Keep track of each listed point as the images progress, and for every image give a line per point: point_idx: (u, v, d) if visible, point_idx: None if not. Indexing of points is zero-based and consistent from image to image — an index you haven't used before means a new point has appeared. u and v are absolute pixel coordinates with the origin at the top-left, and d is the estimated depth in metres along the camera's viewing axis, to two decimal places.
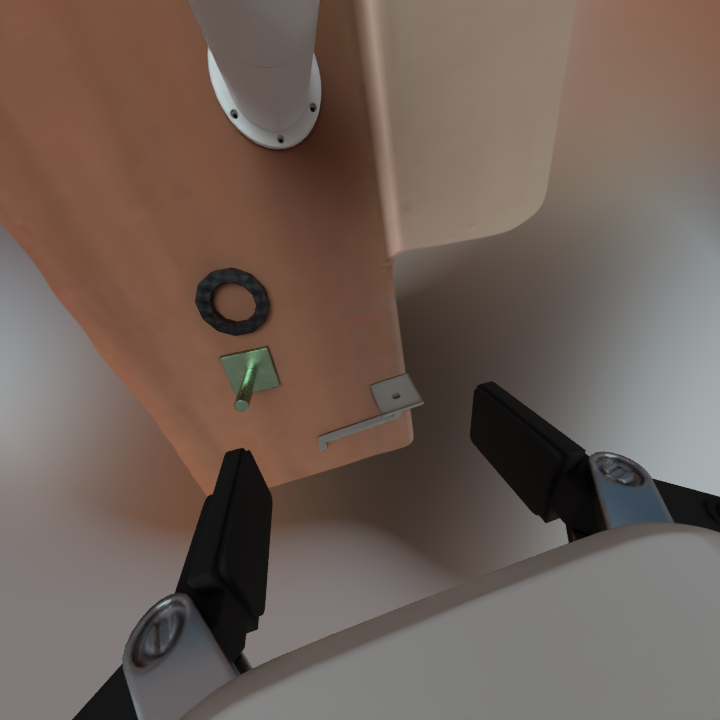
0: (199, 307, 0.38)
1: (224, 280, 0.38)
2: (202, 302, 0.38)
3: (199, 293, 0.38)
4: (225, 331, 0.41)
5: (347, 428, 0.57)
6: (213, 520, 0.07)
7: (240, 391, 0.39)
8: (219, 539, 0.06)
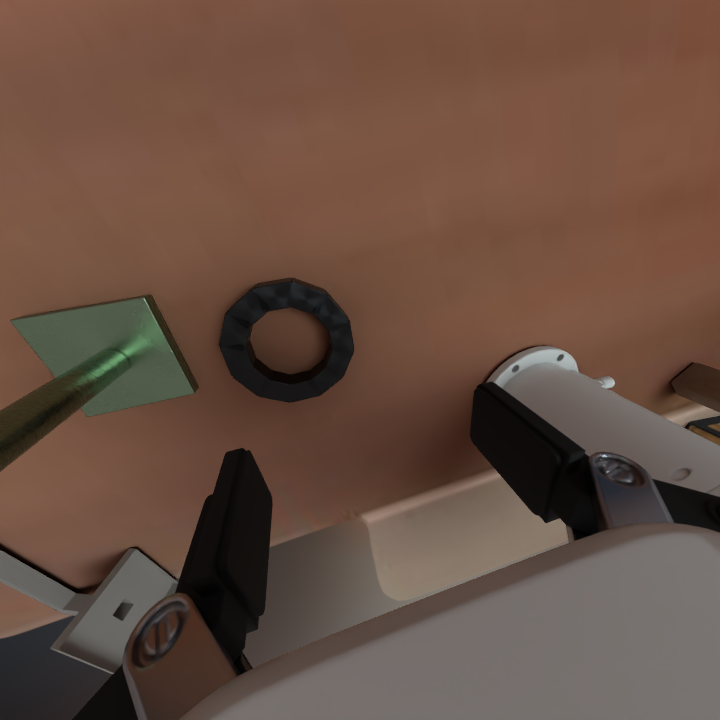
0: (279, 287, 0.18)
1: (335, 339, 0.21)
2: (292, 295, 0.19)
3: (310, 293, 0.19)
4: (227, 327, 0.19)
5: None
6: (213, 520, 0.07)
7: (33, 420, 0.12)
8: (219, 539, 0.06)
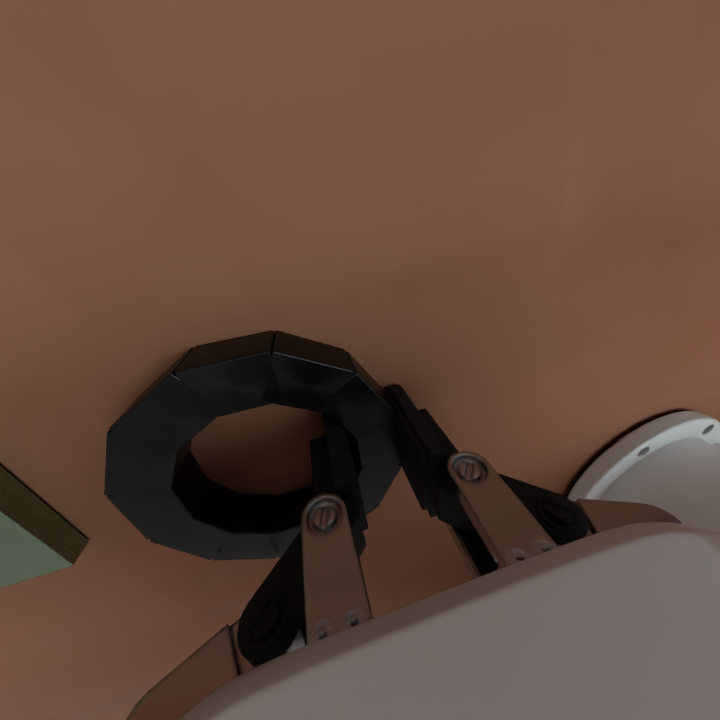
0: (242, 365, 0.07)
1: (367, 452, 0.10)
2: (274, 380, 0.08)
3: (316, 373, 0.08)
4: (117, 460, 0.08)
5: None
6: (334, 447, 0.08)
7: None
8: (346, 459, 0.08)
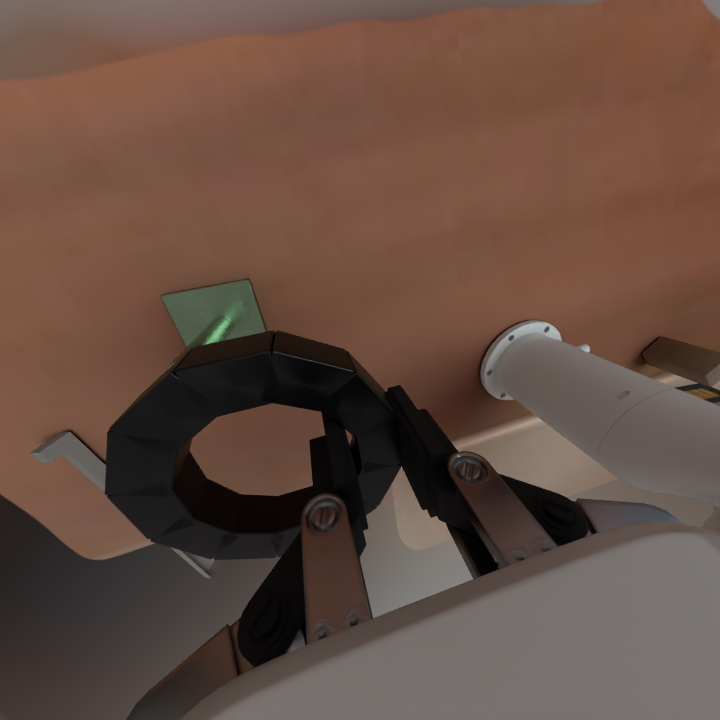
0: (242, 365, 0.07)
1: (368, 452, 0.10)
2: (274, 380, 0.08)
3: (316, 373, 0.08)
4: (117, 459, 0.08)
5: None
6: (334, 447, 0.08)
7: None
8: (345, 459, 0.08)
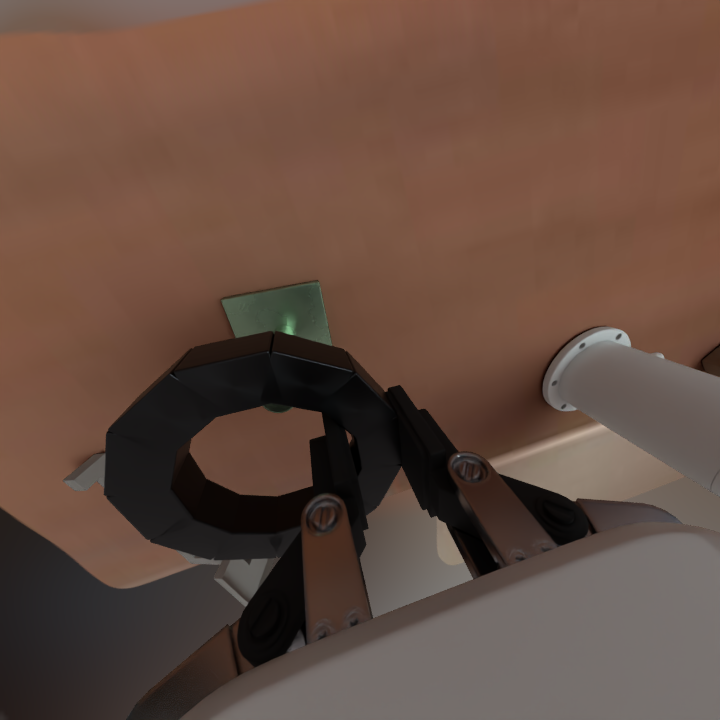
0: (241, 365, 0.07)
1: (367, 452, 0.10)
2: (273, 380, 0.08)
3: (315, 373, 0.08)
4: (116, 460, 0.08)
5: None
6: (334, 447, 0.08)
7: None
8: (346, 459, 0.08)
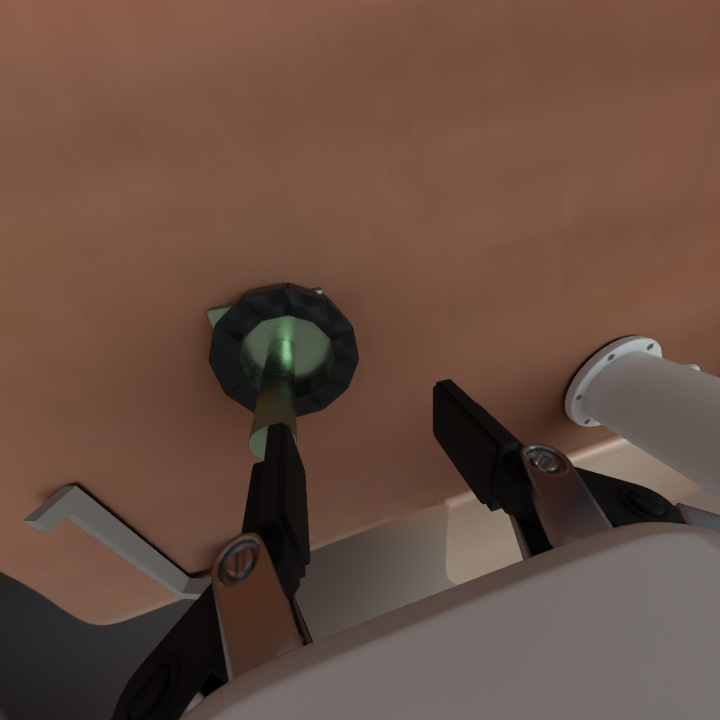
0: (274, 294, 0.16)
1: (338, 349, 0.19)
2: (288, 302, 0.17)
3: (308, 300, 0.17)
4: (216, 341, 0.17)
5: (126, 530, 0.24)
6: (269, 478, 0.08)
7: (293, 400, 0.13)
8: (277, 492, 0.07)
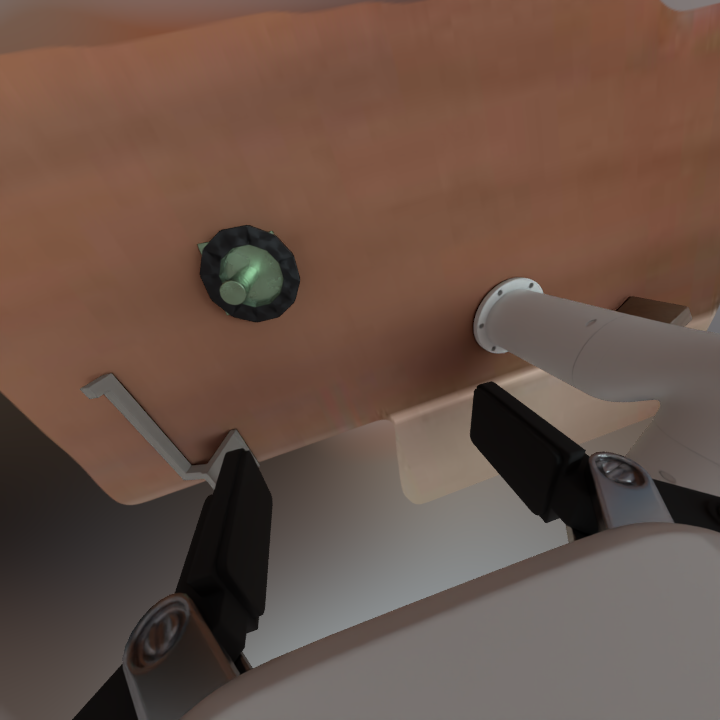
0: (239, 229, 0.26)
1: (284, 270, 0.29)
2: (249, 235, 0.27)
3: (261, 234, 0.27)
4: (204, 260, 0.26)
5: (145, 415, 0.34)
6: (213, 520, 0.07)
7: (247, 282, 0.23)
8: (219, 539, 0.06)
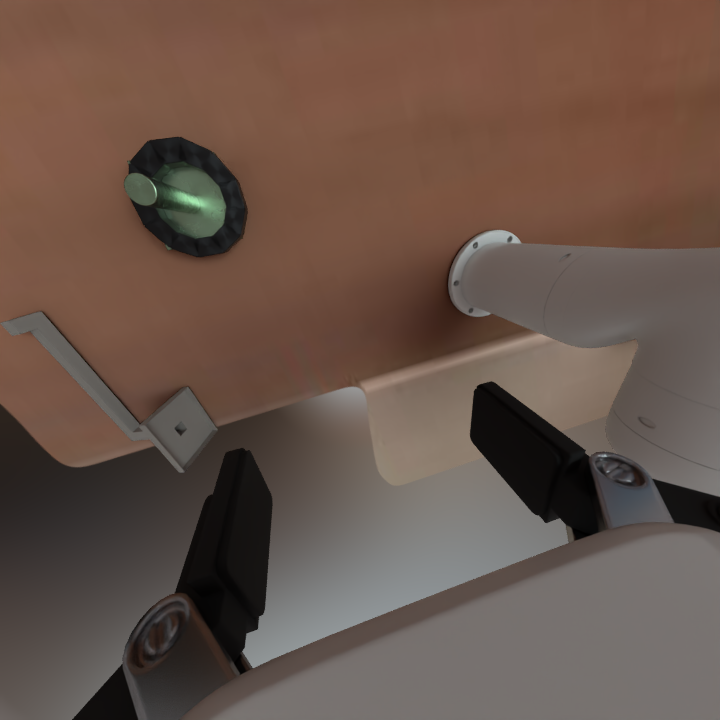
0: (170, 141, 0.23)
1: (226, 196, 0.26)
2: (182, 150, 0.24)
3: (196, 149, 0.24)
4: None
5: (83, 362, 0.32)
6: (213, 520, 0.07)
7: (168, 189, 0.21)
8: (219, 540, 0.06)
